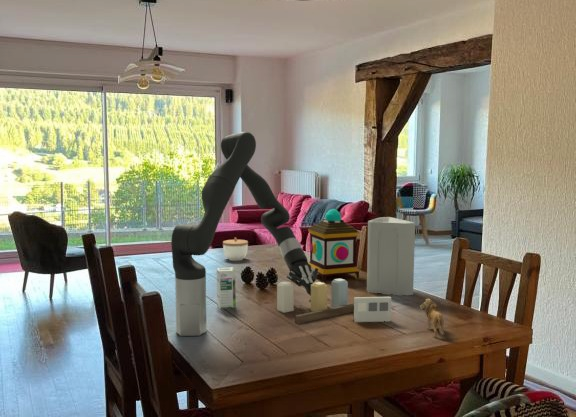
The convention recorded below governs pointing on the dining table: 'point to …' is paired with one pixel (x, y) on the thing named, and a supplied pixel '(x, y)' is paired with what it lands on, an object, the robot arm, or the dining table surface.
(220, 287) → the syrup box
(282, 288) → the ivory key
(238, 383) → the dining table surface
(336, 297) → the grey rounded cylinder
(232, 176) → the robot arm
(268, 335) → the dining table surface
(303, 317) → the wooden slatted rack
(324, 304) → the ochre key
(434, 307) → the lion figurine
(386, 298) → the tile
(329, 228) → the decorative lantern
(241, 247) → the lidded bowl
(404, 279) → the white paneled column
